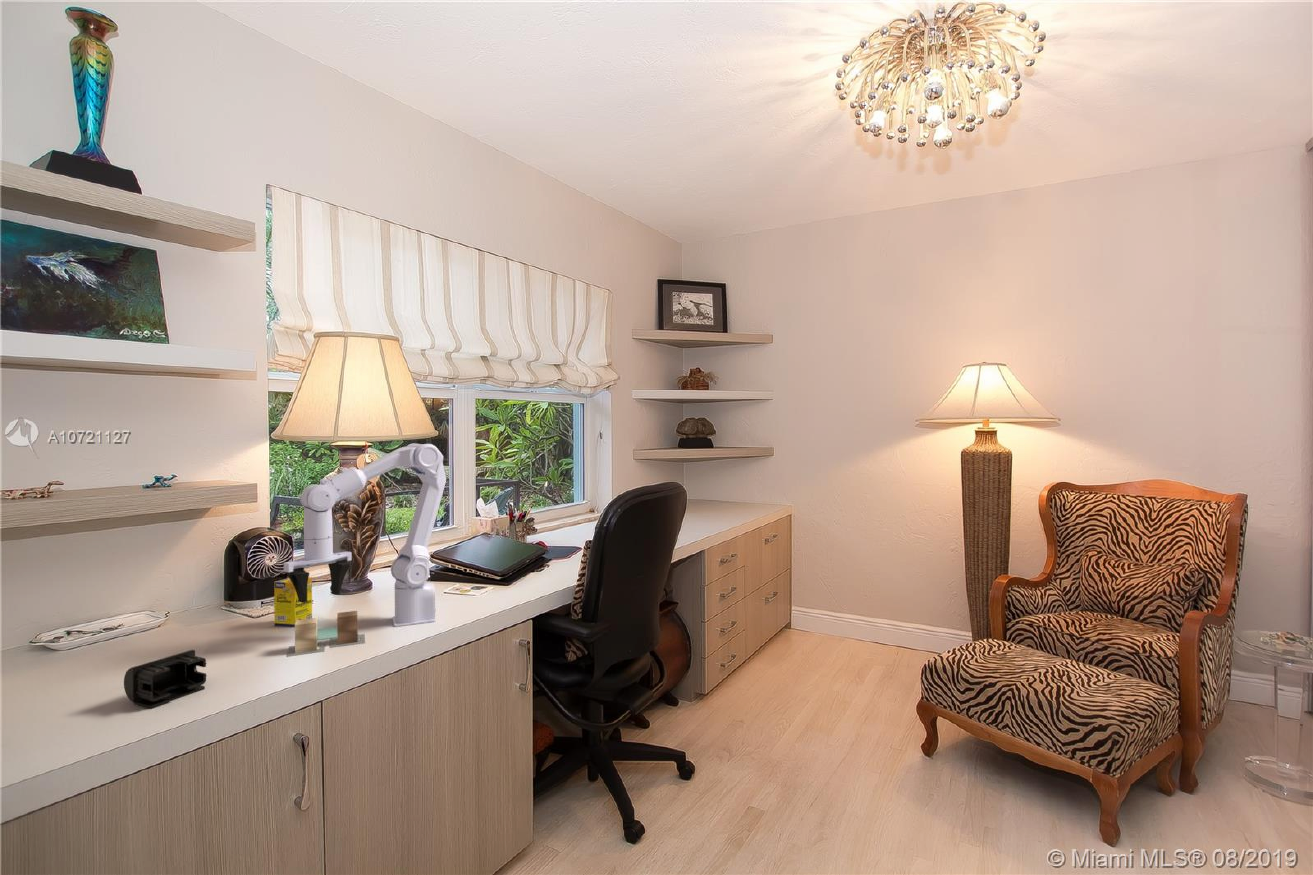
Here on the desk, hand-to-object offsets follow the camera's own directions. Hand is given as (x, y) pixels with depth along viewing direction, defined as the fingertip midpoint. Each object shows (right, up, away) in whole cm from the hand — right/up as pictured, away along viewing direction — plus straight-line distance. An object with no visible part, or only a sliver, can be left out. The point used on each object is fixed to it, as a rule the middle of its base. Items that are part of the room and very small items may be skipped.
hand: (319, 597), depth 144 cm
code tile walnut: (+7, -10, -1) cm, 12 cm away
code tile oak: (+1, -10, -7) cm, 12 cm away
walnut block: (+7, -9, -1) cm, 12 cm away
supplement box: (-13, -10, +12) cm, 21 cm away
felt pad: (-2, -10, +3) cm, 10 cm away
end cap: (-11, -10, -30) cm, 34 cm away
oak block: (+1, -9, -7) cm, 11 cm away
